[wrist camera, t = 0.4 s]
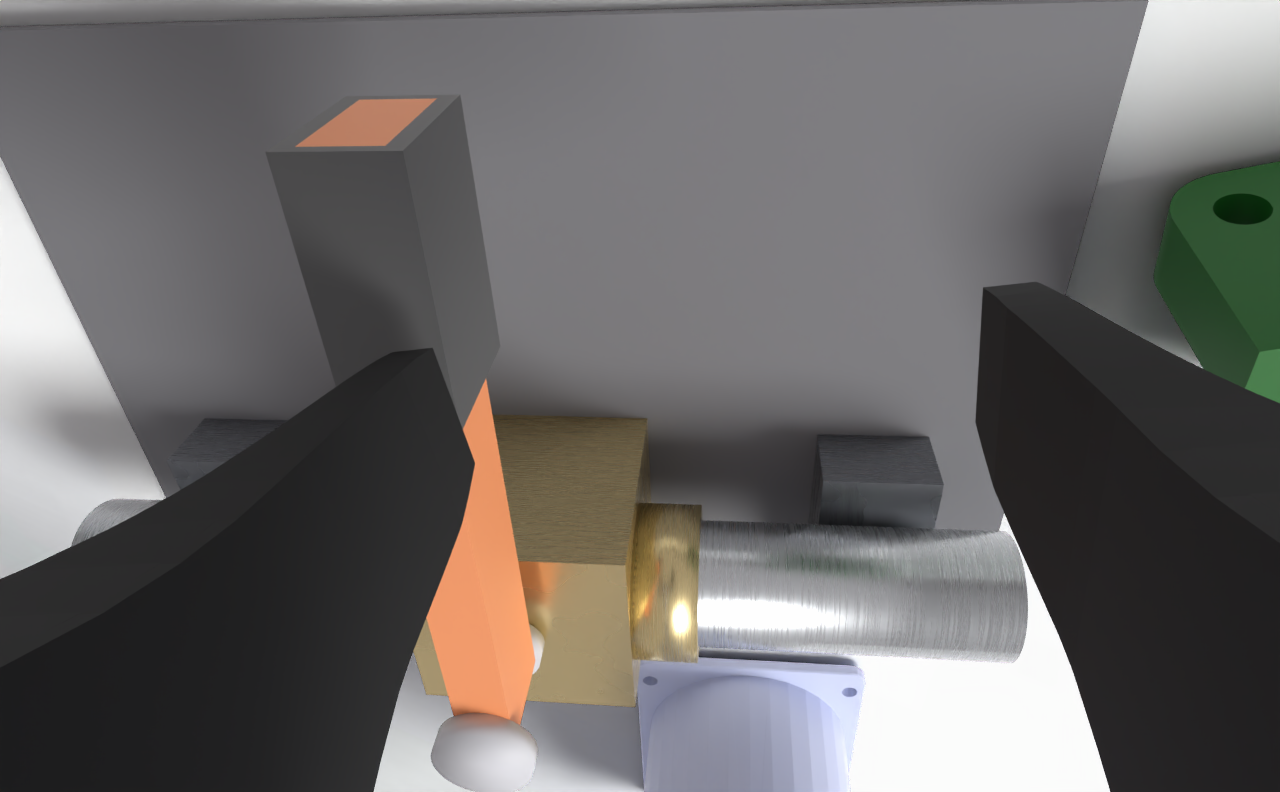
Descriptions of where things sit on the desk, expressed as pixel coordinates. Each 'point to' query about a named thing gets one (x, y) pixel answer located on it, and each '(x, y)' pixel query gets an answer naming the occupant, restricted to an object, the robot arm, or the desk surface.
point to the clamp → (1227, 274)
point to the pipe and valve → (708, 558)
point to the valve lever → (465, 349)
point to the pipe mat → (599, 213)
